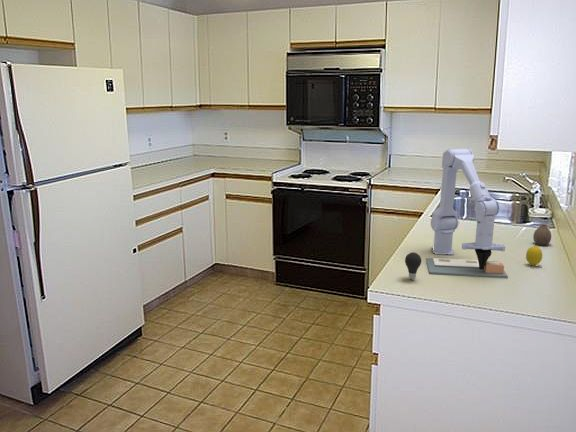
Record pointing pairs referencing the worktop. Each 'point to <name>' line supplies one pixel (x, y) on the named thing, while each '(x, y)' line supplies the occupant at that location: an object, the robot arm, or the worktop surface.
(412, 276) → the light bulb
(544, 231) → the brown pointed fruit
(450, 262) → the ticket
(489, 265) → the stub
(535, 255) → the lemon
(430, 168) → the worktop surface
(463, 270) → the mat
